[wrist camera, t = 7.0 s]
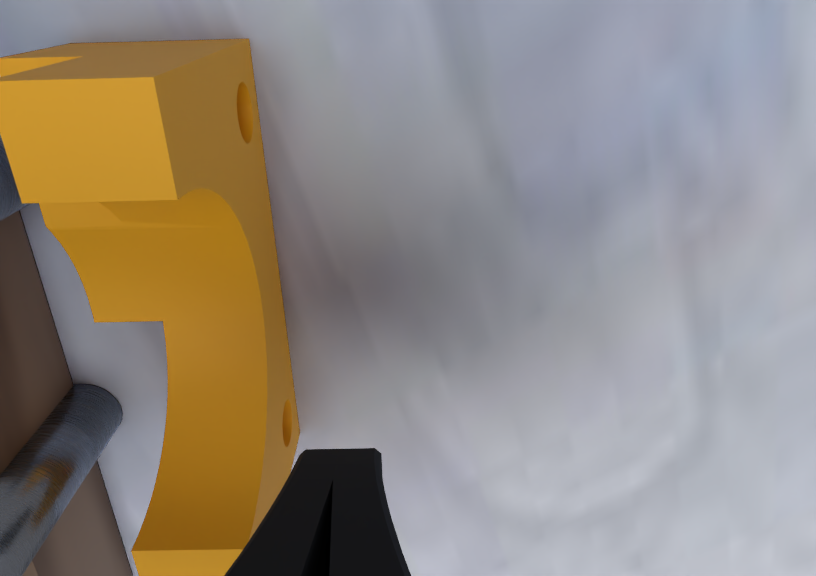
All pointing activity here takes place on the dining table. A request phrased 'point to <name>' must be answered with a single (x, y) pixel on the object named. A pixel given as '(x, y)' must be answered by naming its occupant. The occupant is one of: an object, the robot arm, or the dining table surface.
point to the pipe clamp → (171, 262)
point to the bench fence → (47, 429)
